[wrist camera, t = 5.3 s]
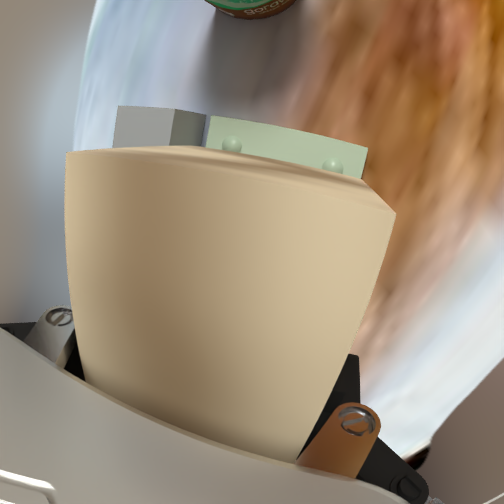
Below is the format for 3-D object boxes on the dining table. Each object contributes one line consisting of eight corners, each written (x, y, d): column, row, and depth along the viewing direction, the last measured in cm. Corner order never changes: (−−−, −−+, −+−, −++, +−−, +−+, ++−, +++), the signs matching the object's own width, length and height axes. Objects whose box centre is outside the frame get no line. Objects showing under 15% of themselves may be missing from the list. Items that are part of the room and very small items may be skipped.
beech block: (361, 178, 10) (396, 214, 4) (283, 425, 14) (253, 526, 8) (191, 145, 11) (66, 152, 5) (173, 389, 15) (114, 471, 9)
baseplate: (367, 148, 24) (368, 148, 23) (326, 292, 29) (326, 297, 28) (215, 116, 27) (210, 115, 26) (194, 253, 32) (189, 256, 31)
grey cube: (206, 115, 27) (175, 109, 22) (196, 175, 30) (164, 182, 24) (155, 110, 28) (118, 105, 23) (147, 165, 31) (110, 171, 25)
